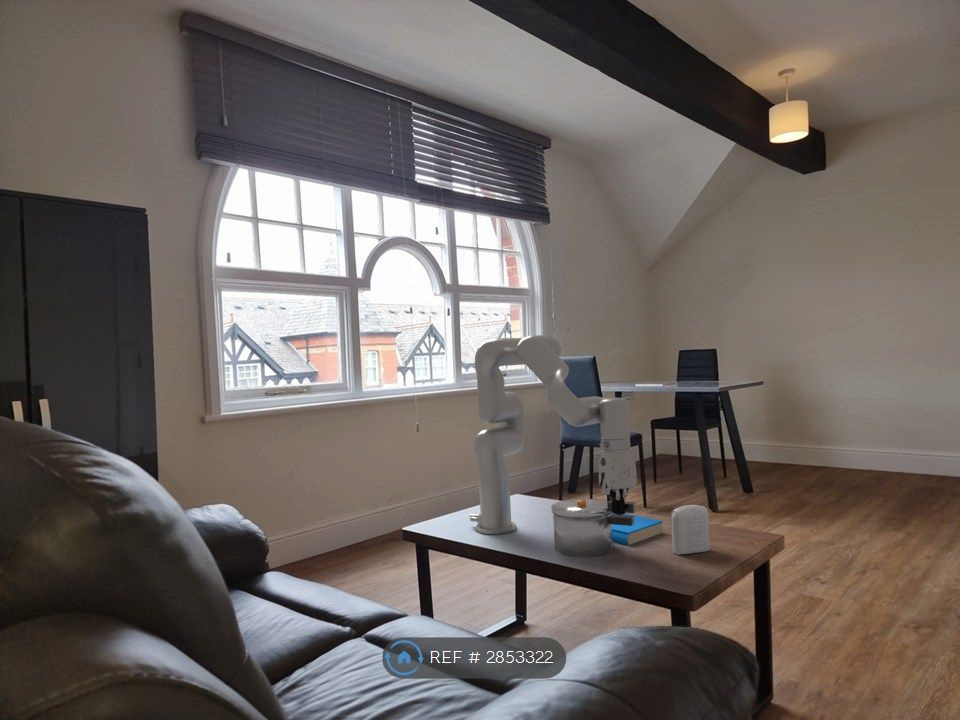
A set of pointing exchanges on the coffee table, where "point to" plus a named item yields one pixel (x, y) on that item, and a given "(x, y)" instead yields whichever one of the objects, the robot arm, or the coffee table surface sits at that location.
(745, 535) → the coffee table surface
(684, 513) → the white arched block
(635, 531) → the book
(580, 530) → the cooker pot
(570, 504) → the lid
